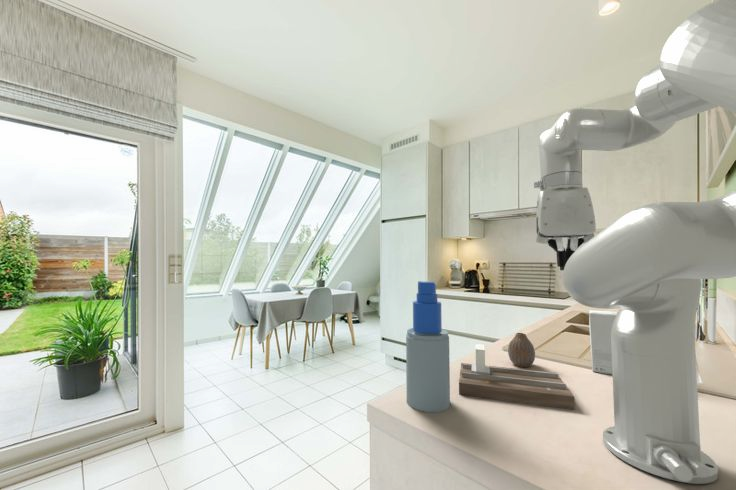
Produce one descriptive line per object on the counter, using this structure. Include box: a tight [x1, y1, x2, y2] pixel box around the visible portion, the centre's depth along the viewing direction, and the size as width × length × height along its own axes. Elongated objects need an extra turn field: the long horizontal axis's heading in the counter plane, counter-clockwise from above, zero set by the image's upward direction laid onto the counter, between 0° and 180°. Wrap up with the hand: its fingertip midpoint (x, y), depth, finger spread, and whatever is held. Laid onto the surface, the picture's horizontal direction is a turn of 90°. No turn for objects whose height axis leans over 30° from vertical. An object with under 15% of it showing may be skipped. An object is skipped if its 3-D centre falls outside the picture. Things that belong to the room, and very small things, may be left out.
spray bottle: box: [405, 280, 451, 413], centre depth 65 cm, size 9×9×25 cm
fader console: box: [458, 362, 576, 411], centre depth 71 cm, size 14×22×4 cm, turn 71°
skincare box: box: [588, 309, 618, 376], centre depth 84 cm, size 8×7×16 cm
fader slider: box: [471, 343, 490, 375], centre depth 74 cm, size 5×4×6 cm
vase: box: [507, 332, 536, 368], centre depth 88 cm, size 7×7×9 cm
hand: (566, 270), depth 65 cm, fingers closed
